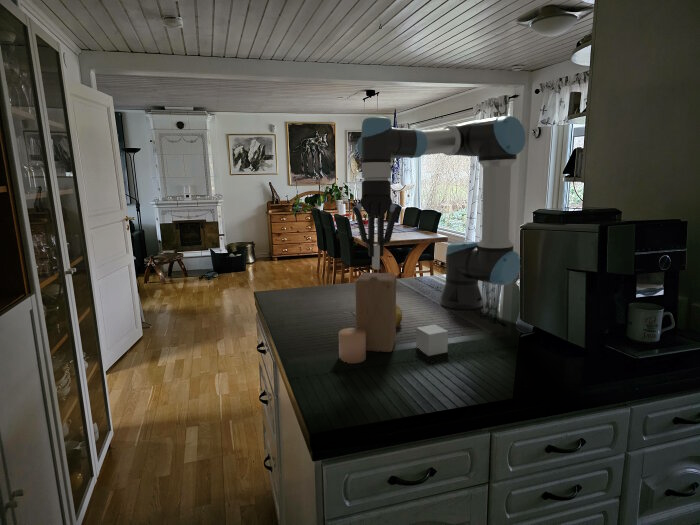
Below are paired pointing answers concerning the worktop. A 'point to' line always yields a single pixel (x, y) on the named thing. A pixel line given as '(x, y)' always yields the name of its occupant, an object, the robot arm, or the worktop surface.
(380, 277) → the wooden block
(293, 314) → the worktop surface
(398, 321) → the bread roll
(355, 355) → the peach round cylinder
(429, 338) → the grey plastic cube
